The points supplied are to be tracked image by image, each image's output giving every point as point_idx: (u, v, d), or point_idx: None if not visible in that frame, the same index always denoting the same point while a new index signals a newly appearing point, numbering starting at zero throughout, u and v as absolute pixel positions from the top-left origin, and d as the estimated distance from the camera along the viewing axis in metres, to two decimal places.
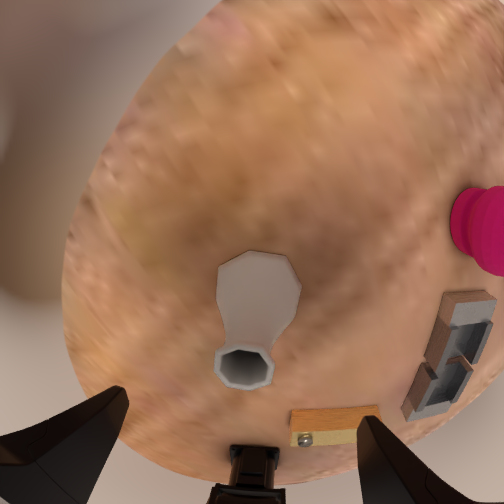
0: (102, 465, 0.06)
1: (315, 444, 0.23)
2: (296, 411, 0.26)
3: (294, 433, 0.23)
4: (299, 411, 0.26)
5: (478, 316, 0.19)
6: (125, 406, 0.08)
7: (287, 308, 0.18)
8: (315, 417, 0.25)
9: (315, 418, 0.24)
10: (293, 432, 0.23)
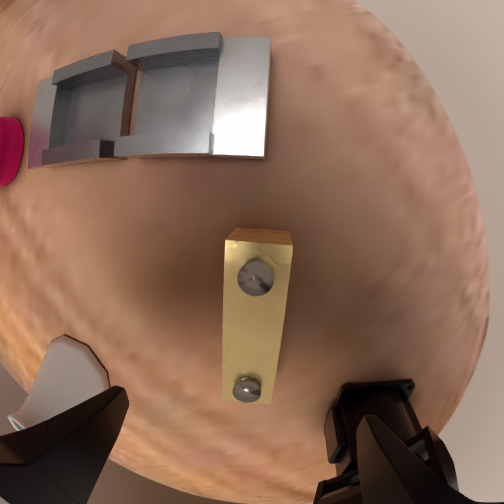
0: (102, 465, 0.06)
1: (269, 371, 0.14)
2: None
3: (227, 398, 0.15)
4: None
5: (46, 109, 0.12)
6: (125, 406, 0.08)
7: (47, 368, 0.16)
8: None
9: None
10: (224, 398, 0.15)
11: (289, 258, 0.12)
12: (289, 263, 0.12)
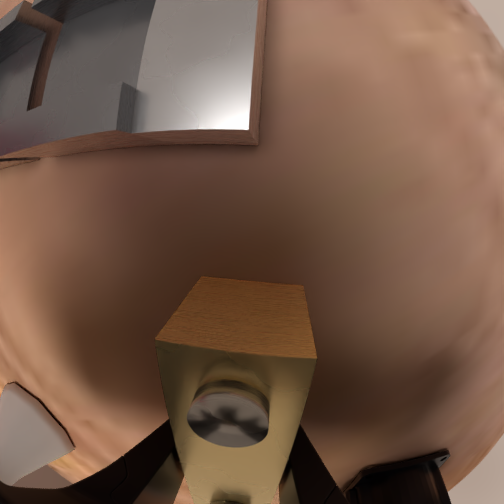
0: (177, 490, 0.06)
1: (261, 499, 0.06)
2: None
3: None
4: None
5: None
6: None
7: None
8: None
9: None
10: None
11: (306, 381, 0.05)
12: (305, 390, 0.05)
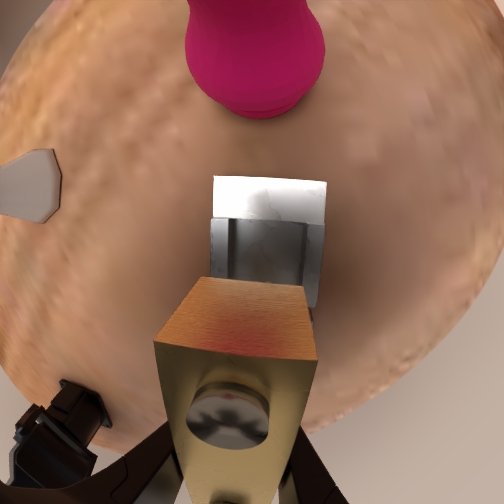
0: (178, 491, 0.06)
1: (261, 501, 0.06)
2: None
3: None
4: None
5: (281, 207, 0.15)
6: None
7: (23, 181, 0.15)
8: None
9: None
10: None
11: (306, 383, 0.05)
12: (306, 392, 0.05)
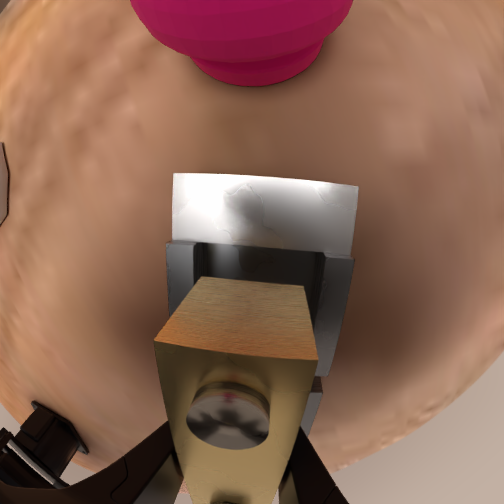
0: (178, 491, 0.06)
1: (261, 500, 0.06)
2: None
3: None
4: None
5: (282, 226, 0.09)
6: None
7: None
8: None
9: None
10: None
11: (307, 383, 0.05)
12: (306, 392, 0.05)
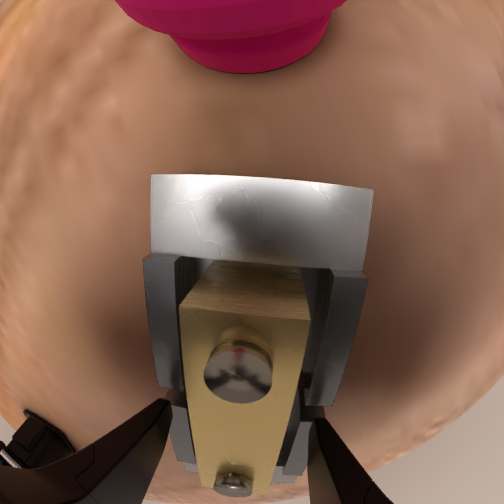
0: (149, 483, 0.06)
1: (264, 470, 0.08)
2: None
3: (208, 485, 0.09)
4: None
5: (281, 238, 0.08)
6: (170, 419, 0.08)
7: None
8: None
9: None
10: (205, 485, 0.09)
11: (302, 341, 0.06)
12: (302, 349, 0.06)
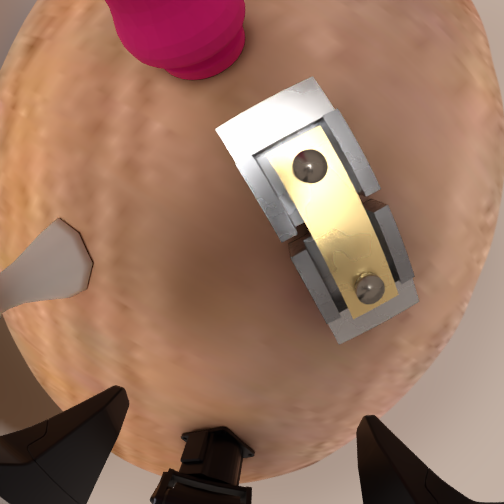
0: (103, 465, 0.06)
1: (377, 255, 0.13)
2: None
3: (357, 313, 0.14)
4: None
5: (290, 118, 0.14)
6: (125, 406, 0.08)
7: (45, 254, 0.16)
8: None
9: None
10: (355, 316, 0.14)
11: (324, 137, 0.12)
12: (327, 140, 0.12)
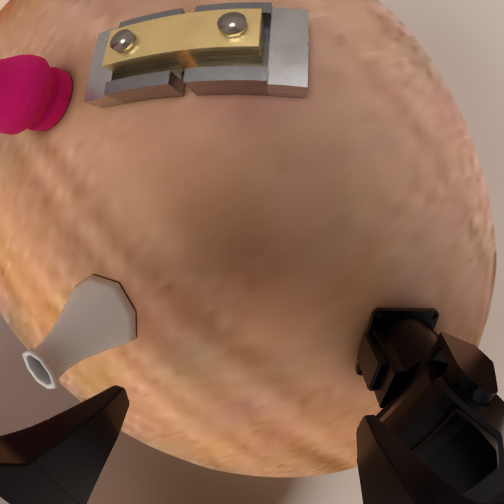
0: (102, 465, 0.06)
1: (212, 14, 0.11)
2: None
3: (254, 41, 0.11)
4: None
5: None
6: (125, 406, 0.08)
7: (72, 304, 0.18)
8: (219, 60, 0.13)
9: (219, 59, 0.13)
10: (256, 44, 0.11)
11: (118, 29, 0.11)
12: (120, 28, 0.11)
